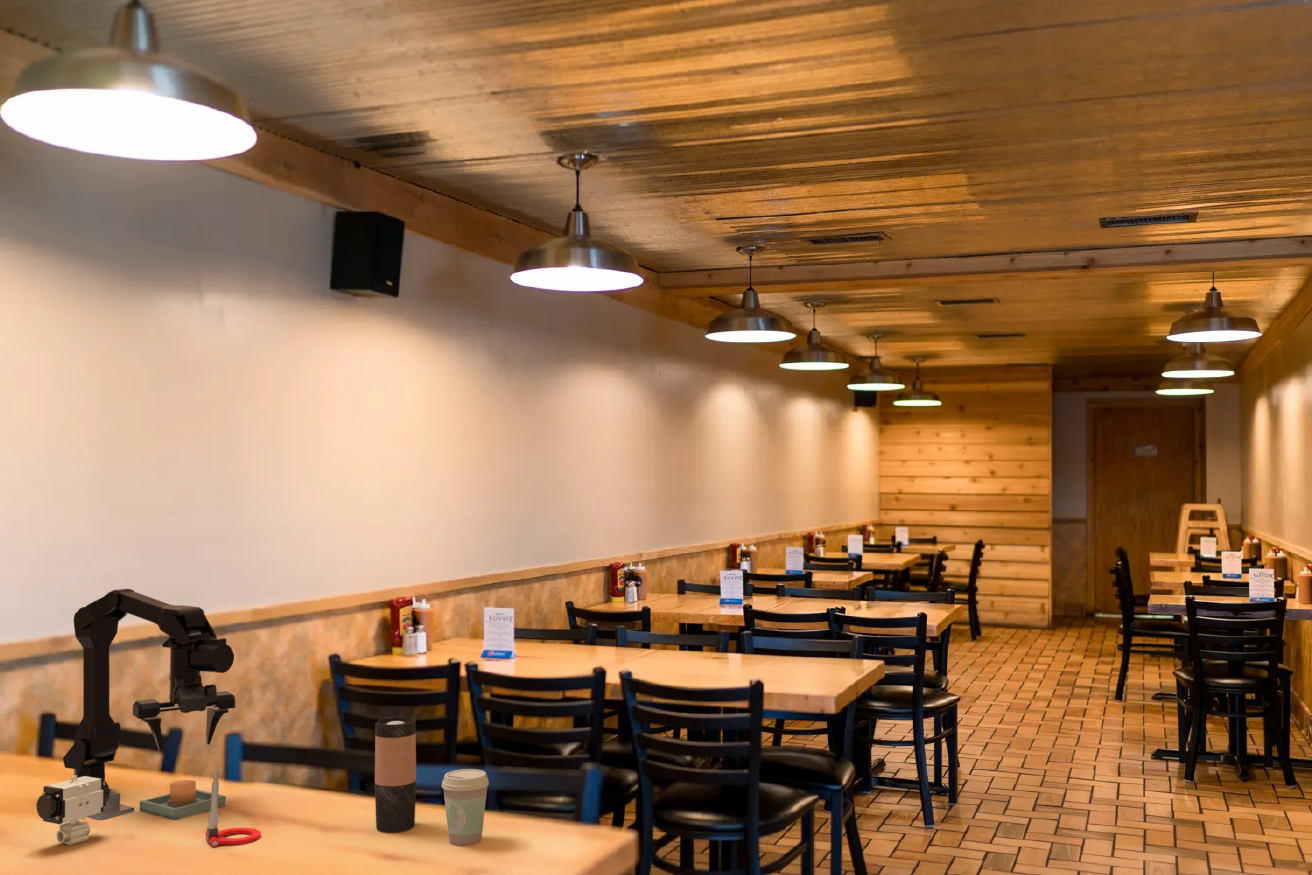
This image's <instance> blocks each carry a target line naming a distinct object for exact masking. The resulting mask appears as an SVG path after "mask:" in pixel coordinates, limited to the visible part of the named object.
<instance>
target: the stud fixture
mask: <svg viewBox="0 0 1312 875" xmlns="http://www.w3.org/2000/svg"><path fill="white" fill-rule="evenodd" d="M133 812H135V807H134V806H130V805H126V804H122V803H121V793H120V792H117V791H113V790H112V791H110V796H109V799H108V801H107V802H106V806H104V812H101V813H97V814H94V815H90V816H87V817H88V818H92V819H96V820H99V821H103V820H106V819H110V818H114V817H118V816H122V815H125V814H129V813H133Z"/></svg>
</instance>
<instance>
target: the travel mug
mask: <svg viewBox="0 0 1312 875" xmlns="http://www.w3.org/2000/svg"><path fill="white" fill-rule="evenodd" d="M374 725H375V726H374V727H375V728H374V730H375V734H374V735H375V737H374V738H375V739H374V740H375V741H374V742H375V743H374V745H375V746H374V749H375V750H374V762H375V763H374V799H375V800H374V802H375V804H374V806H375V824H376V825H375V827H376V830H377V831H378V832H381V833H395V834H396V833H403V832H406V831H410V830H412V829H414V827H415V824H416V823H415V822H416V795H417V792H416V791H417V749H416V748H417V746H416V745H417V743H416V740H417V735H416V734H417V733H416V732H417V731H416V730H417V729H416V728H417V727H416V725H417V724H416V719H415V718H413V717H408V716H393V717H390V716H389V717H384V718H380V719H378V720H377V722H375V724H374Z"/></svg>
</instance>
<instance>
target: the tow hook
mask: <svg viewBox="0 0 1312 875" xmlns="http://www.w3.org/2000/svg"><path fill="white" fill-rule="evenodd" d="M219 787H220V783H219V770H214V771H213V780H212V783H211V810H209V812H210V813H208V825H207V826H208V827H207V828H206V832H204V833H205V838H206V841H207V842H208V843H209V844H210V845H211V847H212V848H217V847H219V845H225V846H226V845H228V846H231V845H232V846H233V845H234V846H235V845H244V844H251V843H253V842H256V841H258V840H259V839H260V838H261V833H262V832H261V831H260V830H259V829H257V828H252V827H230V828H224V829H220V830H219V826H218V824H219V813H218V808H217V807H218V794H219ZM237 834H238V835H241V834H243V835H248V836H243V837H238V838H236V837H234V838H232V837H231V838H230V837H226V836H230V835H237Z"/></svg>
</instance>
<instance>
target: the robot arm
mask: <svg viewBox="0 0 1312 875" xmlns="http://www.w3.org/2000/svg"><path fill="white" fill-rule="evenodd" d="M128 614H129V615H131V616H134V617H137V618H139V619H143V620H145V621H147V622H150V623H153V624H156V626H157V627H158V628H159V630H160V631H161V632H162V633H164V634H165V635H167V636H169V637H168V639H166V640H165V641H164V642H163V643H162V644H161V646H162V647H163V648H167V649H169V648H170V649H169V650H170V652H169V654H170V655H169V658H170V659H169V662H170V663H169V675H168V676H169V677H168V678H169V694H168V700H169V701H162V702H159V701H158V700H156V699H155V698H151V699H142V700H136V701H135V702H134V703H133V705H132V715H133V716H134V717H136V719H139V720H141V721H143V722H144V723H147V725H148V726H149V729H150V731H151V733H152V737H153V738H154V741H155V745H156V746H157V748H158V751H159V752H162V751H163V739H162V738H163V736H162V726H161V725H162V717H160V716H159V715H160V714H161V713H162V712H171V711H180V713H184V714H190V713H191V712H192V713H193V712H204V711H206V725H205V727H206V729H205V741H206V742H205V743H206V745H209V746H210V744H211V742H212V739H213V737H214V734H215V730H216V727H217V726H218V723H219V721H220V720H221V719H222V717H223V716H224V714H227V713H229V712H230V710H229V709H234V708H236V707H237V706H236V705H237V704H236V703H237V702H236V701H237V700H236V697H235V695H234V694H233V693H231V692H229V691H227V690H225V691H224V690H222V691H218V690H217V686H216V684H214V683H213V684H212V683H211V684H206V685H203V683H202V681H203V680H202V675H201V672H204V673H205V672H206V673H218V674H225V673H226V672H228V671H229V670H231V668H232V666H233V664H234V660H235V653H234V651H233V649H232V647H231V646H230V645H228V644H227V638H226V637H220V638H218V637H217V635H216V633H215V630H214V628H212V625H211V623H210V622H209V619H208V618H207V617H206V615H205V610H204V609H202V607H199V606H194V605H193V606H192V605H178V604H176V605H175V604H170V603H167V602H164V601H161V600H159V599H156V598H153V597H150V596H148V595H144V594H142V593H140V592H136V591H135V590H134V589H131V588H122V589H121V588H120V589H113V590H111V591H109V592H107V593H106V594H105V595H104V596H102V597H100V598H98V599H96V600H94V601H92V602H90V603H88V604H86V605H85V606H83V607H80V608H78V610H77V611H76V612H75V613H74V616H73V628H74V636H75V638H76V640H77V641H78V643H79V645H81V647H82V649H83V650H82V652H83V657H82V658H83V661H82V662H83V663H82V664H83V666H82V667H83V671H82V673H83V686H82V687H83V688H82V689H83V691H82V692H83V695H82V696H83V702H82V704H83V708H82V709H83V715H82V716H83V717H82V719H80V722H79V724H78V726H77V727H76V729H75V732H74V740H73V745H72V746H71V747H70V749H69V750H68V751H67V752H66V753H65V754H64V756H63V757H62V761H63V766H64V768H65V769H71V770H73V776H75V775H76V776H77V778H79V777H83V776H87V775H89V776H95V777H101V778H104V781H105V782H106V764H105V763H109V762H114V761H115V758H116V757H115V756H116V753H117V750H118V749H119V745H120V742H122V738H121V726H122V725H121V723H120V721H119V722H116V721H115V720H114V718H112V715H111V713H110V646H111V645H112V643H113V641H114V639H115V637H116V635H117V634H118V629H119V622H120V621H121V620H122V619H124V618H125V617H126V616H127V615H128ZM109 789H110V788H109ZM110 791H113V790H112V789H110Z"/></svg>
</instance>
